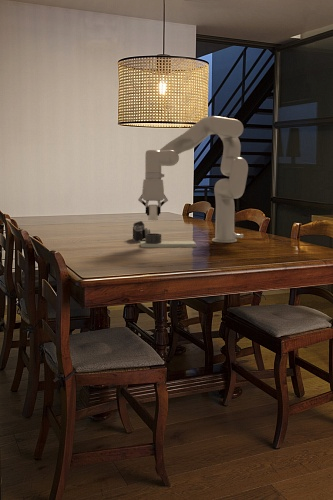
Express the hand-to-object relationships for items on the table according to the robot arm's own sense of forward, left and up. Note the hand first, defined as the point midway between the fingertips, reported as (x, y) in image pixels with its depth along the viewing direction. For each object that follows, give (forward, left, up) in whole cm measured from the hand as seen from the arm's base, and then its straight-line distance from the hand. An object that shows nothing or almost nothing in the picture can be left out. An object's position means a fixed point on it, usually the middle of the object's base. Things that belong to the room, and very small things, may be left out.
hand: (153, 214), depth 271 cm
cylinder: (0, 0, -2) cm, 2 cm away
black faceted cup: (0, 0, -13) cm, 13 cm away
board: (-7, 0, -15) cm, 16 cm away
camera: (+5, -20, -15) cm, 25 cm away
